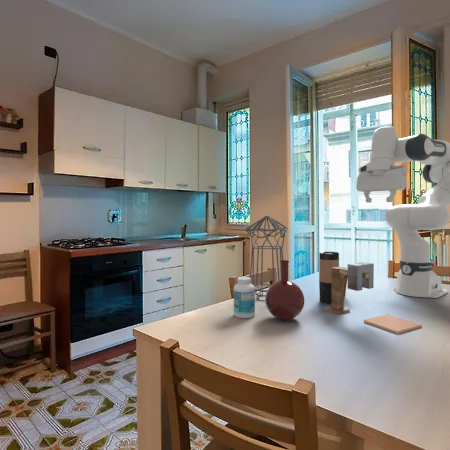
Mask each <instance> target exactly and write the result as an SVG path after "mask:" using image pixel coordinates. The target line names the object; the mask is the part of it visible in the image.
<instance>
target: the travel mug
mask: <svg viewBox="0 0 450 450" xmlns="http://www.w3.org/2000/svg"><path fill="white" fill-rule="evenodd" d="M318 254H319V257H318V260H319V262H318V263H319V264H318V267H319V269H318V270H319V271H318V286H319V287H318V289H319V290H318V291H319V303H321V304H322V305H326V306H327V305H328V306H332V267H340V253H339V252H337V251H324V252H319V253H318Z"/></svg>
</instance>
